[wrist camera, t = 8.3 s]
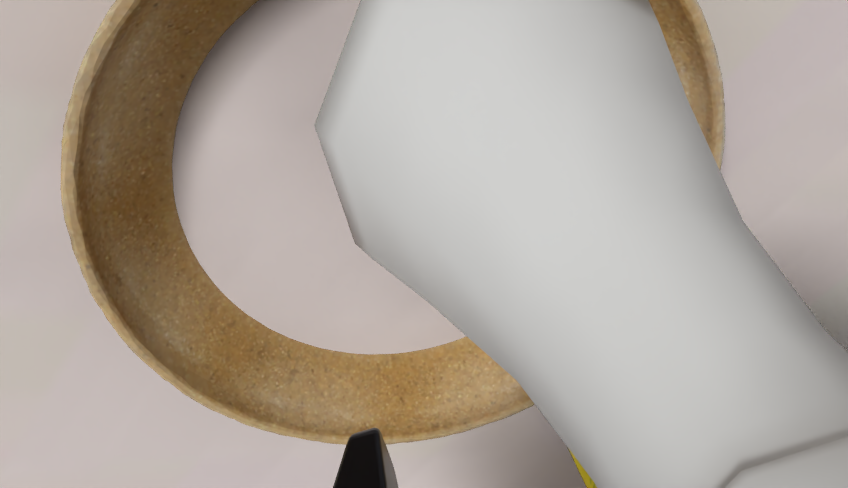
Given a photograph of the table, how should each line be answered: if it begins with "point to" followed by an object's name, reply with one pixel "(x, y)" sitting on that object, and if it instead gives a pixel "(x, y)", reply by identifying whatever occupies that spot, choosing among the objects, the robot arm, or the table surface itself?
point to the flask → (583, 238)
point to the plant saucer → (201, 299)
